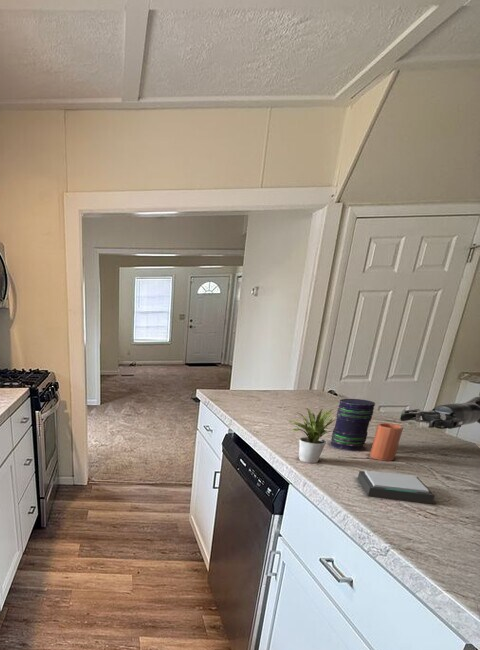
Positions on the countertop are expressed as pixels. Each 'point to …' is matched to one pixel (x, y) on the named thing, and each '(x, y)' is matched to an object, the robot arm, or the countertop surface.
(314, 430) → the house plant
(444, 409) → the robot arm
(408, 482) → the scale
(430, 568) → the countertop surface
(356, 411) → the storage jar
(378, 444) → the cup
